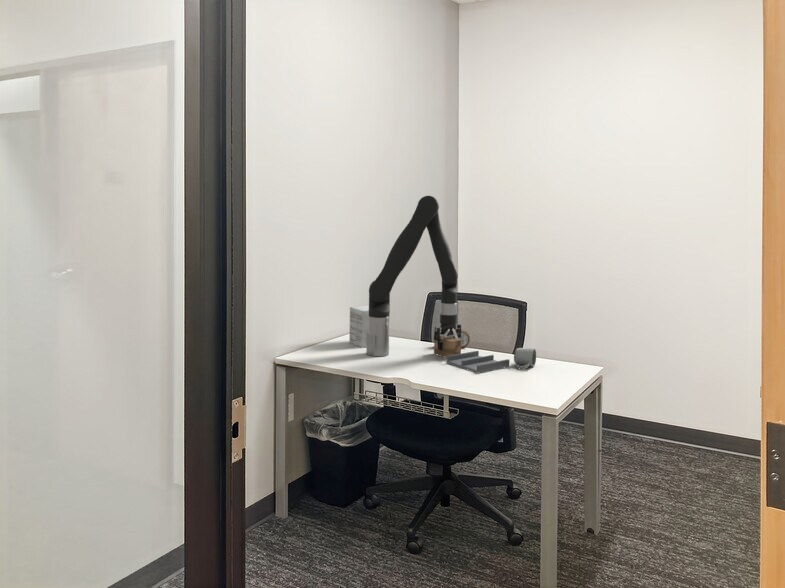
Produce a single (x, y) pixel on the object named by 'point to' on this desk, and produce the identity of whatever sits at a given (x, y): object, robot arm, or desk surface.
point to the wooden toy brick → (448, 347)
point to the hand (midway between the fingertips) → (447, 348)
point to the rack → (476, 362)
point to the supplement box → (359, 325)
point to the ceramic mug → (525, 357)
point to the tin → (463, 338)
